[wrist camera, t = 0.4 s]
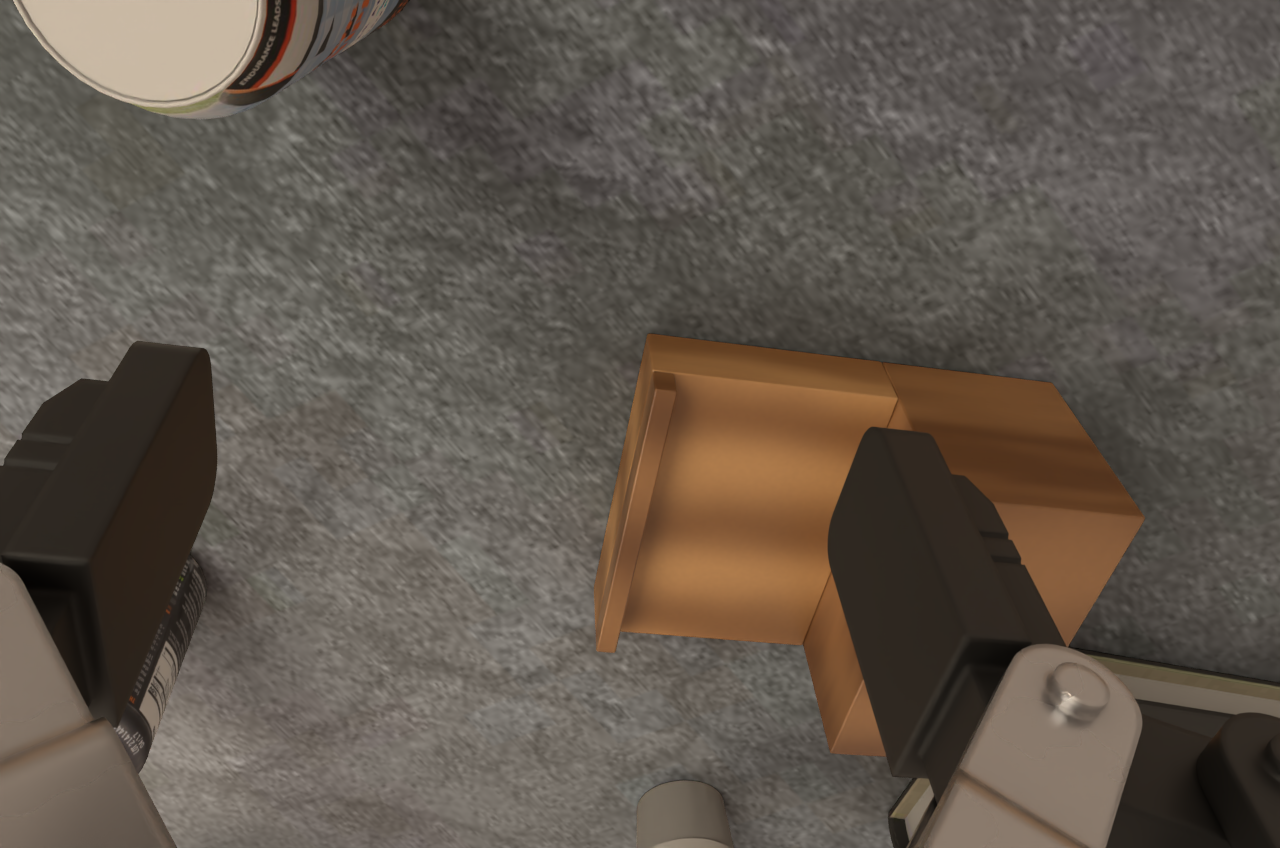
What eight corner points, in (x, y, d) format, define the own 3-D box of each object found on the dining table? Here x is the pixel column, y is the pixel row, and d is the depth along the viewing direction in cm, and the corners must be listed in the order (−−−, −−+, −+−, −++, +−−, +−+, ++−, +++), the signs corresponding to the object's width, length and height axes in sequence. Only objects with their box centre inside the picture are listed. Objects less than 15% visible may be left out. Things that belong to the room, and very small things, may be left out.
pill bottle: (25, 558, 42) (-122, 804, 33) (137, 500, 41) (16, 740, 32) (133, 643, 45) (26, 888, 36) (240, 592, 44) (157, 833, 35)
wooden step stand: (647, 332, 38) (665, 469, 31) (1052, 381, 40) (1147, 518, 34) (593, 587, 45) (599, 740, 39) (938, 615, 48) (998, 764, 41)
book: (883, 819, 57) (897, 870, 55) (1012, 636, 49) (1036, 687, 46) (1214, 860, 62) (1241, 908, 59) (1383, 699, 53) (1422, 748, 51)
